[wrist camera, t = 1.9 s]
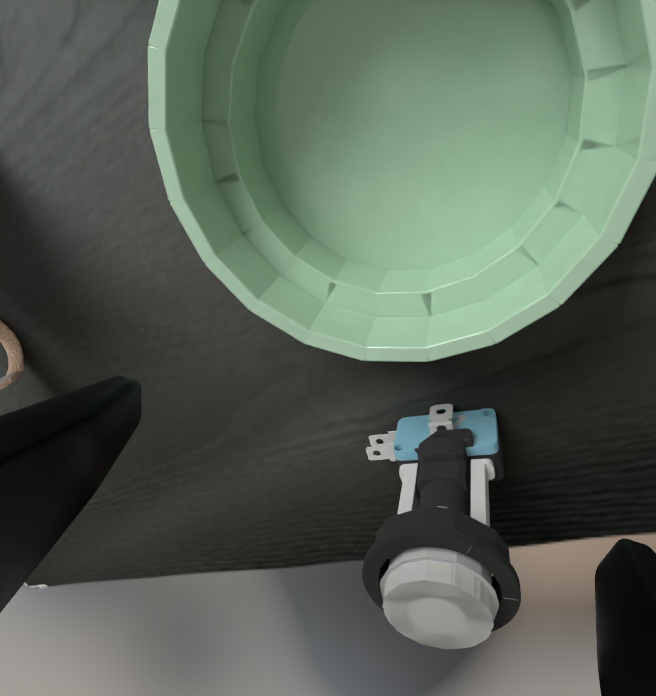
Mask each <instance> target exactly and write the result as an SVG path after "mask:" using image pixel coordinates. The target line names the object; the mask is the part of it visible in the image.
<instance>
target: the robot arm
mask: <svg viewBox="0 0 656 696" xmlns="http://www.w3.org/2000/svg"><path fill="white" fill-rule="evenodd" d="M140 419H141V387H140V384H139V382H137V381H136V380H133V379H129V378H126V377H123V376H115V377H112V378H109V379H106V380H103V381H100V382H97V383H95V384H92V385H89V386H86V387H83V388H80V389H77V390H74V391H71V392H68V393H65V394H63V395H60V396H57V397H54V398H51V399H48V400H45V401H42V402H39V403H36V404H33V405H31V406H28V407H25V408H22V409H19V410H16V411H13V412H10V413H7V414H4V415H1V416H0V612H1V611H2V610H3V609H4V607H5V606H6V605H7V604H8V602H9V601H10V600H11V598H12V597H13V596H14V595H15V593H16V592H17V591H18V589H19V588H20V587H21V586H22V585H23V583H24V582H25V581H26V580H27V578H28V577H29V576H30V575H31V573H32V572H33V571H34V569H35V568H36V567H37V566H38V564H39V563H40V562H41V561H42V559H43V558H44V557H45V556H46V554H47V553H48V552H49V551H50V549H51V548H52V547H53V545H54V544H55V543H56V542H57V540H58V539H59V538H60V537H61V535H62V534H63V533H64V532H65V530H66V529H67V528H68V526H69V525H70V524H71V523H72V521H73V520H74V519H75V518H76V516H77V515H78V514H79V513H80V511H81V510H82V509H83V508H84V506H85V505H86V504H87V502H88V501H89V500H90V499H91V497H92V496H93V495H94V493H95V492H96V491H97V489H98V488H99V486H100V485H101V483H102V482H103V480H104V478H105V477H106V475H107V474H108V472H109V471H110V469H111V467H112V466H113V464H114V463H115V461H116V459H117V458H118V456H119V455H120V453H121V451H122V450H123V448H124V447H125V445H126V443H127V442H128V440H129V439H130V437H131V436H132V434H133V432H134V431H135V429H136V428H137V426H138V424H139V422H140ZM595 598H596V599H595V600H596V632H597V659H598V672H599V681H600V688H601V695H602V696H656V554H655V552H654V551H653V550H652V549H651V548H650V547H648V546H647V545H644V544H641V543H638V542H635V541H632V540H629V539H621V540H619V541H618V542H617V543H616V544H615V545H614V546H613V548H612V549H611V550H610V552H609V553H608V554H607V555H606V557H605V558H604V559H603V560H602V561H601V563H600V564H599V566H598V567H597V570H596V574H595Z"/></svg>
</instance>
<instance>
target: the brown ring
mask: <svg viewBox="0 0 656 696" xmlns="http://www.w3.org/2000/svg"><path fill="white" fill-rule="evenodd" d="M1 322H2V321H0V341H1V343H3V346H4V348H5V350H6V351H7V356H8V359H9V369H8V371H7V374H6V376H4V377H2V378H1V379H0V390H2V389H3V388H5V387H6V386H8V385H9V384H11V383H12V382H13V381H15V380H16V379H17V378H18V377H19V376H20V374H19V373H20V372H21V371H23V369H24V368H23V354H22V353H23V352H22V347H21V346H20V342H19V340H18V339H17V337H15V336H16V335H15V334H14V333H13V332H12V330H11V329H10V328H9V327H8V326H7V325H5V324H4V323H3V322H2V323H1ZM8 329H10V330H8Z"/></svg>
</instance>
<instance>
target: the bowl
mask: <svg viewBox="0 0 656 696" xmlns="http://www.w3.org/2000/svg"><path fill="white" fill-rule="evenodd" d="M148 96H149V128H150V134H151V137H152V141H153V145H154V148H155V152H156V155H157V159H158V163H159V166H160V170H161V174H162V177H163V181H164V184H165V188H166V192H167V195H168V199H169V201H170V202H171V203H170V204H171V206H172V208H173V210H174V211H175V213H176V215H177V217H178V219H179V220H180V222H181V224H182V226H183V227H184V229H185V231H186V233H187V234H188V236H189V238H190V240H191V241H192V243H193V245H194V247H195V248H196V250H197V252H198V254H199V255H200V257H201V259H202V261H203V262H204V263H205V265H206V266H207V267H208V268H209V269H210V270H211V271H212V272H213V273H214V274H215V275H216V276H217V278H218V279H219V280H220V281H221V282H222V283H223V284H224V285H225V286H226V287H227V288H228V289H229V290H230V291H231V292H232V293H233V294H234V295H235V296H236V297H237V298H238V299H239V300H240V301H241V302H242V303H243V304H244V305H245V306H246V307H247V309H248V310H251V312H253V313H254V314H256V315H258V316H259V317H261V318H263V319H264V320H266V321H268V322H269V323H271V324H273V325H274V326H276V327H277V328H279V329H281V330H282V331H284V332H286V333H287V334H289V335H291V336H292V337H294V338H296V339H297V340H299V341H301V342H302V343H304V344H306V345H310V346H313V347H317V348H320V349H324V350H327V351H331V352H334V353H337V354H341V355H344V356H348V357H351V358H355V359H358V360H361V361H364V360H365V361H396V362H428V361H434V360H438V359H442V358H446V357H450V356H454V355H457V354H461V353H465V352H469V351H473V350H476V349H480V348H484V347H488V346H492V345H494V344H495V343H496V344H497V343H499V342H501V341H502V340H504V339H506V338H507V337H509V336H511V335H513V334H514V333H516V332H518V331H519V330H521V329H523V328H525V327H526V326H528V325H530V324H531V323H533V322H535V321H536V320H538V319H540V318H542V317H543V316H545V315H547V314H548V313H550V312H552V311H554V310H555V309H557V308H559V307H560V305H562V304H563V303H564V302H565V301H566V300H567V299H568V298H569V297H570V296H571V295H572V294H573V293H574V292H575V291H576V290H577V289H578V288H579V287H580V286H581V285H582V284H583V283H584V281H585V280H586V279H587V278H588V277H589V276H590V275H591V274H592V273H593V272H594V271H595V270H596V269H597V268H598V267H599V266H600V265H601V264H602V263H603V262H604V261H605V260H606V259H607V257H608V256H609V255H610V254H611V253H612V252H613V251H614V250H615V249H616V248H617V247H618V244H620V243H621V241H622V239H623V237H624V235H625V233H626V231H627V230H628V228H629V226H630V224H631V222H632V220H633V218H634V216H635V214H636V212H637V210H638V208H639V206H640V205H641V203H642V201H643V199H644V197H645V195H646V193H647V191H648V189H649V187H650V185H651V183H652V181H653V180H654V178H655V176H656V0H159V4H158V8H157V12H156V16H155V19H154V23H153V27H152V31H151V35H150V39H149V46H148Z"/></svg>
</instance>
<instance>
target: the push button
mask: <svg viewBox="0 0 656 696" xmlns="http://www.w3.org/2000/svg"><path fill="white" fill-rule="evenodd" d="M440 409H445V410H446V412H445V413H443V414H437V413H436V412H437V411H438V410H440ZM377 439H382V440H383V442H384V443H383V444H378V443H377V442H376V440H377ZM369 440H370V443H371V446H372V447H367V448H366V452H367V455H368V458H369V460H382V459H390V460H391V461H397V464H398V468H399V475H400V478H401V481H402V482H403V484H402V490H401V496H400V502H399V508H398V514H397V515H394V516H391V517H389V518H388V519H387V520H386V521H385V522H384V524H383V525H382V526H381V527H380V528H379V530H378V531H377V534H376V539H375V543H374V544H372V546H371V547H370V548H369V550H368V552H367V554H366V556H365V560H364V564H363V570H362V578H363V582H364V586H365V588H366V590H367V592H368V594H369V596H370V597H371V598H372V600H373V601H374V602H375V603H376V604H377V605H378V606H379V607H380V608H381V609H382V610H383V611H384V614H385V616H386V617H387V619H388V621H389V622H390V623H391V624H392V625H393V626H394V627H395V628H396V630H397V631H399V632H401V633H402V634H403V635H404V636H407V637H409V638H411V639H413V640H415V641H417V642H419V643H421V644H424V645H428V646H433V647H438V648H444V649H456V648H470V647H473V646H475V645H476V644H478V643H480V642H482V641H484V640H486V639H487V637H488V636H490V632H492V631H494V630H497V629H499V628H501V627H503V626H504V625H506V624H507V623H508V622H509V621H510V620H511V619H512V618H513V617H514V616H515V615H516V613H517V611H518V609H519V606H520V602H521V592H520V583H519V579H518V576H517V573H516V571H515V569H514V568H513V566H512V565H511V564H510V558H509V549H508V547H507V545H506V544H505V542H504V541H503V540H502V538H501V537H500V535H499V534H498V533H497V531H496V530H495V529H493V528H491V527H490V515H489V486H488V481H499V480H501V479H503V477H504V467H503V454H502V444H501V439H500V434H499V429H498V424H497V419H496V414H495V411H494V410H493V409H491V408H486V409H480V410H472V411H462V412H453V405H451V404H441V405H433V406H432V407H430V413H429V415H423V416H414V417H405V418H402V419H400V420H399V421H398V425H397V430H396V431H389V432H388V434H382V435H372V436H369ZM373 451H379V452H380V453H381V455H380V456H376V455H374V454H373ZM419 503H420V506H419ZM470 510H471V517H470V516H468V512H469V511H470ZM390 556H391V557H390ZM389 557H390V559H389ZM492 574H493V576H491V575H492Z"/></svg>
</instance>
